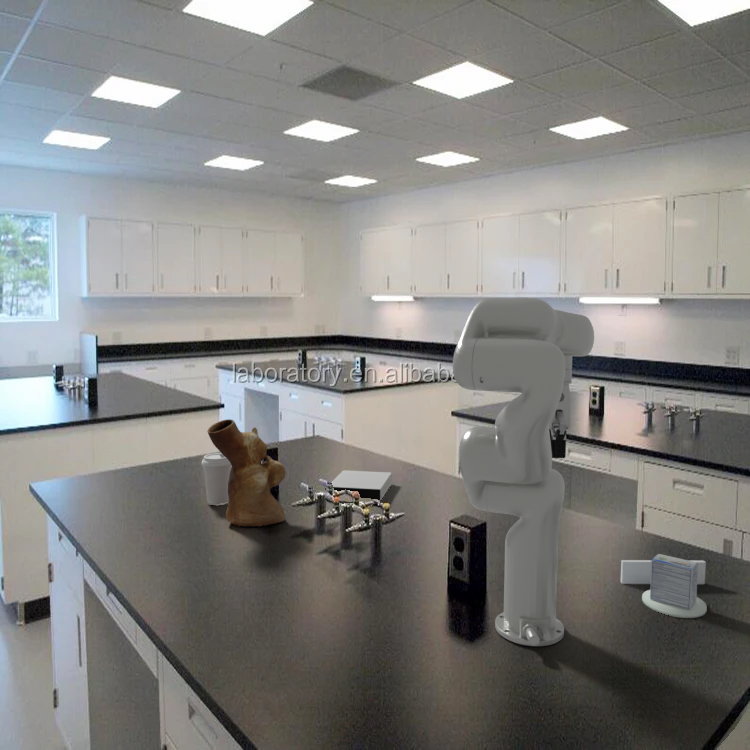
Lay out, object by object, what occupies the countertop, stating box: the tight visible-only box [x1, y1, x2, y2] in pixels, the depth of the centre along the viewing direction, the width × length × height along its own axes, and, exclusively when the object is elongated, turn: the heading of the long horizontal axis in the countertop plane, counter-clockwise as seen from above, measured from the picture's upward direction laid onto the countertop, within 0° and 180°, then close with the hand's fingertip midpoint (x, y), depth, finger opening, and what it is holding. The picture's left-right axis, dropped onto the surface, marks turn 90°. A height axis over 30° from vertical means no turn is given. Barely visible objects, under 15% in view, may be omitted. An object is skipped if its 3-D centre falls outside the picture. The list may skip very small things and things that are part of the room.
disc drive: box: [324, 469, 393, 500], centre depth 210 cm, size 18×22×5 cm
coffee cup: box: [201, 452, 232, 504], centre depth 198 cm, size 10×10×15 cm
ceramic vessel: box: [207, 419, 286, 527], centre depth 179 cm, size 16×22×30 cm
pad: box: [641, 589, 708, 619], centre depth 130 cm, size 12×12×1 cm
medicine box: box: [649, 553, 698, 610], centre depth 130 cm, size 8×4×9 cm, turn 50°
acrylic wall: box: [620, 559, 707, 585], centre depth 140 cm, size 1×18×5 cm, turn 89°
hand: (551, 452), depth 142 cm, fingers open, 9 cm apart
